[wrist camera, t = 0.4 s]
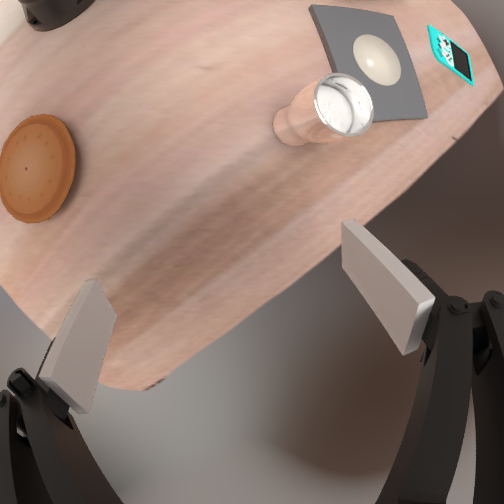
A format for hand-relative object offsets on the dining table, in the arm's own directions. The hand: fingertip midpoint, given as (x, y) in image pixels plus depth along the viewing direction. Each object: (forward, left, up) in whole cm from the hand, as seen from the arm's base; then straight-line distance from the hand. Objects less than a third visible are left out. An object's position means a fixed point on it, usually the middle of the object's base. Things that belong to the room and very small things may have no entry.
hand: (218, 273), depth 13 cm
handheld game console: (-23, +61, -25) cm, 70 cm away
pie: (-14, -22, -25) cm, 36 cm away
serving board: (-18, +33, -24) cm, 45 cm away
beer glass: (-8, +15, -25) cm, 30 cm away
